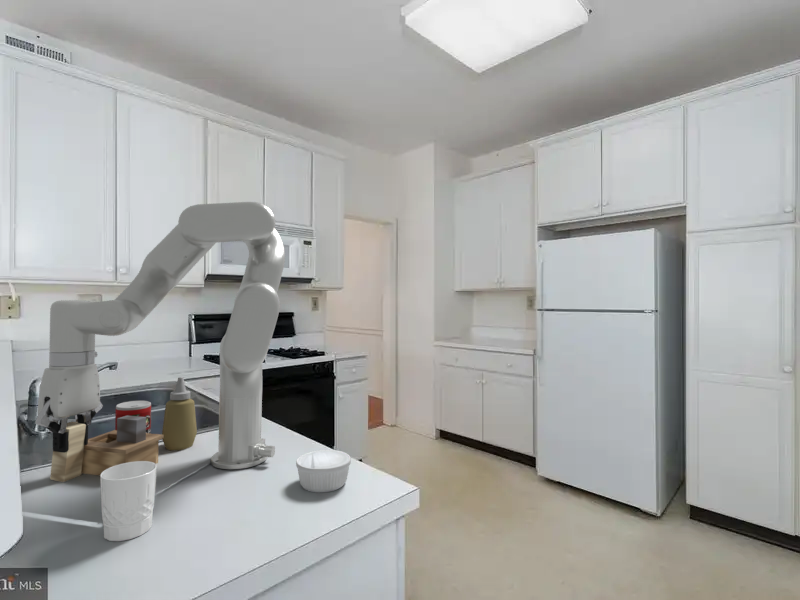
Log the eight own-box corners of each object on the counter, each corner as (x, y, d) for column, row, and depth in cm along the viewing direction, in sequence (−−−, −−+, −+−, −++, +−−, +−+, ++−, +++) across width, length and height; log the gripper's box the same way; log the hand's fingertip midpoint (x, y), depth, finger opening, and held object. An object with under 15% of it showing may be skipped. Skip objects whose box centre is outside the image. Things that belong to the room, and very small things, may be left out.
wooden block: (80, 475, 90) (85, 424, 90) (64, 482, 87) (69, 429, 87) (67, 472, 91) (72, 421, 91) (50, 479, 87) (55, 426, 87)
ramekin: (285, 482, 90) (286, 457, 90) (329, 468, 98) (329, 445, 98) (316, 501, 82) (316, 473, 82) (360, 484, 90) (361, 459, 90)
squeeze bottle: (203, 447, 110) (204, 377, 110) (172, 456, 103) (173, 382, 103) (185, 441, 114) (186, 373, 114) (154, 449, 107) (156, 378, 107)
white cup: (93, 548, 65) (94, 483, 65) (105, 523, 72) (106, 464, 72) (152, 537, 68) (153, 475, 68) (158, 514, 76) (159, 458, 76)
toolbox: (158, 465, 98) (158, 438, 98) (125, 481, 89) (125, 452, 89) (114, 460, 100) (114, 434, 100) (77, 475, 91) (78, 447, 91)
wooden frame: (163, 438, 98) (163, 412, 98) (125, 453, 88) (126, 425, 88) (114, 433, 101) (115, 408, 101) (72, 448, 91) (73, 420, 91)
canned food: (134, 453, 104) (135, 408, 105) (106, 450, 106) (107, 406, 106) (157, 443, 112) (158, 401, 112) (131, 440, 114) (132, 399, 114)
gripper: (93, 354, 98) (92, 434, 98) (14, 364, 81) (12, 460, 81) (121, 355, 96) (119, 437, 96) (46, 366, 80) (44, 464, 80)
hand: (70, 447), depth 89 cm, fingers closed on wooden block, 3 cm apart
